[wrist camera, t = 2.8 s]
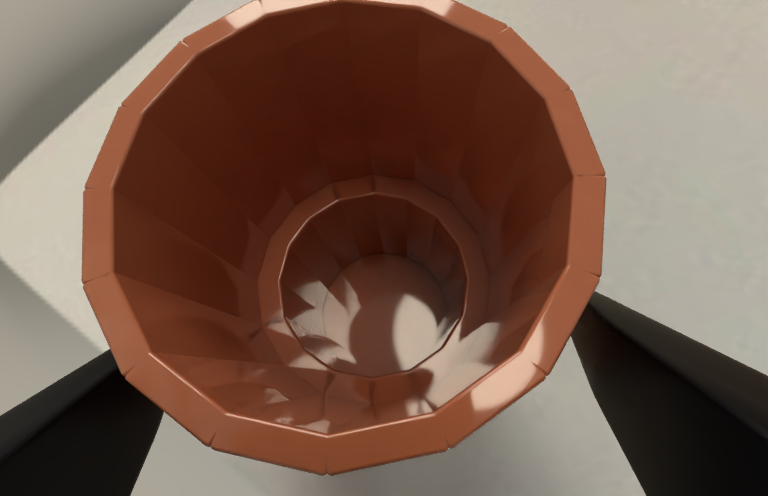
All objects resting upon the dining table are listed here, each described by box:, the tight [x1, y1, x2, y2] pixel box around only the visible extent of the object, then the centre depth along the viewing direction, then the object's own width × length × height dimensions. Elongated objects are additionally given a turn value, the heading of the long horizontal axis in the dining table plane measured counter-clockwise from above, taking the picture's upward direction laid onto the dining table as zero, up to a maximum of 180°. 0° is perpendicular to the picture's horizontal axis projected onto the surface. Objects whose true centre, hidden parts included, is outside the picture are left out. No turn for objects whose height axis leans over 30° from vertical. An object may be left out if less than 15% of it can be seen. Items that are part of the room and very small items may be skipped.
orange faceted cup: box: [82, 0, 606, 476], centre depth 12 cm, size 7×7×13 cm
